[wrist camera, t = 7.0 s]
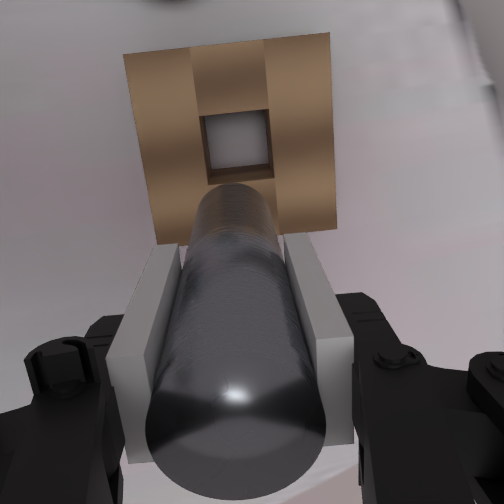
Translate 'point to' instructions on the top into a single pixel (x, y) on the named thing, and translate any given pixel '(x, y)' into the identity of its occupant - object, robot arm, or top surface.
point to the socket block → (228, 101)
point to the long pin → (234, 361)
